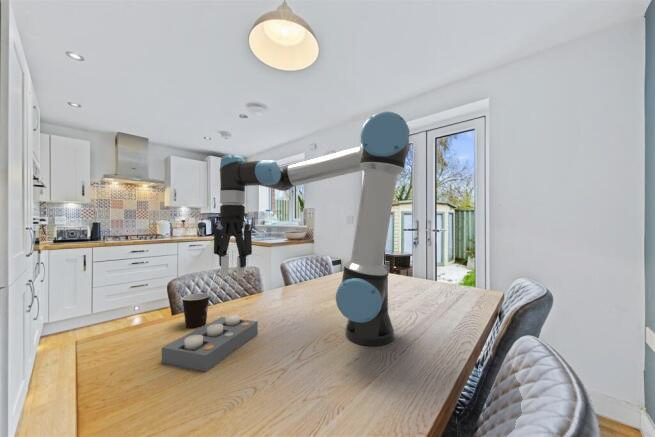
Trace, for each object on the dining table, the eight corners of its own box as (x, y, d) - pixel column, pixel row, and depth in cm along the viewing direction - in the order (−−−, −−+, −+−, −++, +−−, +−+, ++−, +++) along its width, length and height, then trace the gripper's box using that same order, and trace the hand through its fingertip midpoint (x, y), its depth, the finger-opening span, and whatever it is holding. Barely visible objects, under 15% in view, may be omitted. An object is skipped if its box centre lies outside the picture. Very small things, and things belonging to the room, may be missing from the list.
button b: (226, 331, 80) (226, 324, 80) (216, 337, 75) (216, 330, 75) (214, 329, 81) (214, 323, 81) (203, 335, 77) (203, 328, 77)
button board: (257, 333, 87) (257, 320, 87) (205, 371, 65) (205, 354, 65) (221, 328, 91) (221, 316, 91) (161, 362, 69) (161, 346, 69)
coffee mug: (198, 330, 89) (198, 300, 89) (176, 328, 91) (176, 299, 91) (219, 318, 101) (219, 291, 101) (199, 316, 103) (199, 290, 103)
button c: (206, 343, 72) (206, 335, 72) (194, 350, 68) (194, 343, 68) (193, 341, 73) (193, 333, 73) (180, 348, 69) (180, 340, 69)
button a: (242, 321, 87) (242, 315, 87) (234, 326, 83) (234, 320, 83) (231, 320, 89) (231, 314, 89) (222, 325, 84) (222, 318, 84)
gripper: (263, 204, 87) (263, 276, 87) (217, 205, 92) (217, 273, 92) (250, 203, 80) (250, 281, 80) (200, 204, 85) (200, 277, 85)
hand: (232, 276), depth 86 cm, fingers open, 5 cm apart
